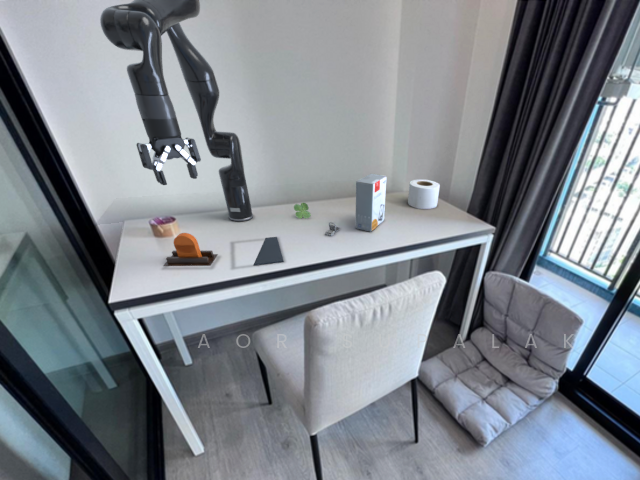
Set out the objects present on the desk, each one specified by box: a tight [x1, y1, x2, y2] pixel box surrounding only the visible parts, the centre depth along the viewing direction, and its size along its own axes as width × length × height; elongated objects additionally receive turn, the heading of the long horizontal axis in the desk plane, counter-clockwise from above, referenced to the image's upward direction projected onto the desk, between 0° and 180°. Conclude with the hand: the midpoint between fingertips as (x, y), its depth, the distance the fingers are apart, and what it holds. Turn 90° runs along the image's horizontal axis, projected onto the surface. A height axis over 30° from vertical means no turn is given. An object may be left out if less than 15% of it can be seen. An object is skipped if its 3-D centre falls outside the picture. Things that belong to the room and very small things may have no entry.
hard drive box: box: [355, 173, 387, 232], centre depth 138 cm, size 16×8×20 cm, turn 161°
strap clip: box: [324, 221, 340, 237], centre depth 133 cm, size 8×3×4 cm, turn 165°
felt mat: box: [252, 236, 285, 267], centre depth 115 cm, size 20×16×1 cm
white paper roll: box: [407, 179, 441, 210], centre depth 168 cm, size 16×15×11 cm
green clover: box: [293, 202, 312, 220], centre depth 146 cm, size 7×8×7 cm
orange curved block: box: [173, 232, 202, 257], centre depth 103 cm, size 6×2×9 cm, turn 98°
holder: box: [162, 250, 219, 267], centre depth 106 cm, size 14×8×3 cm, turn 98°
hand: (179, 181), depth 91 cm, fingers open, 8 cm apart
